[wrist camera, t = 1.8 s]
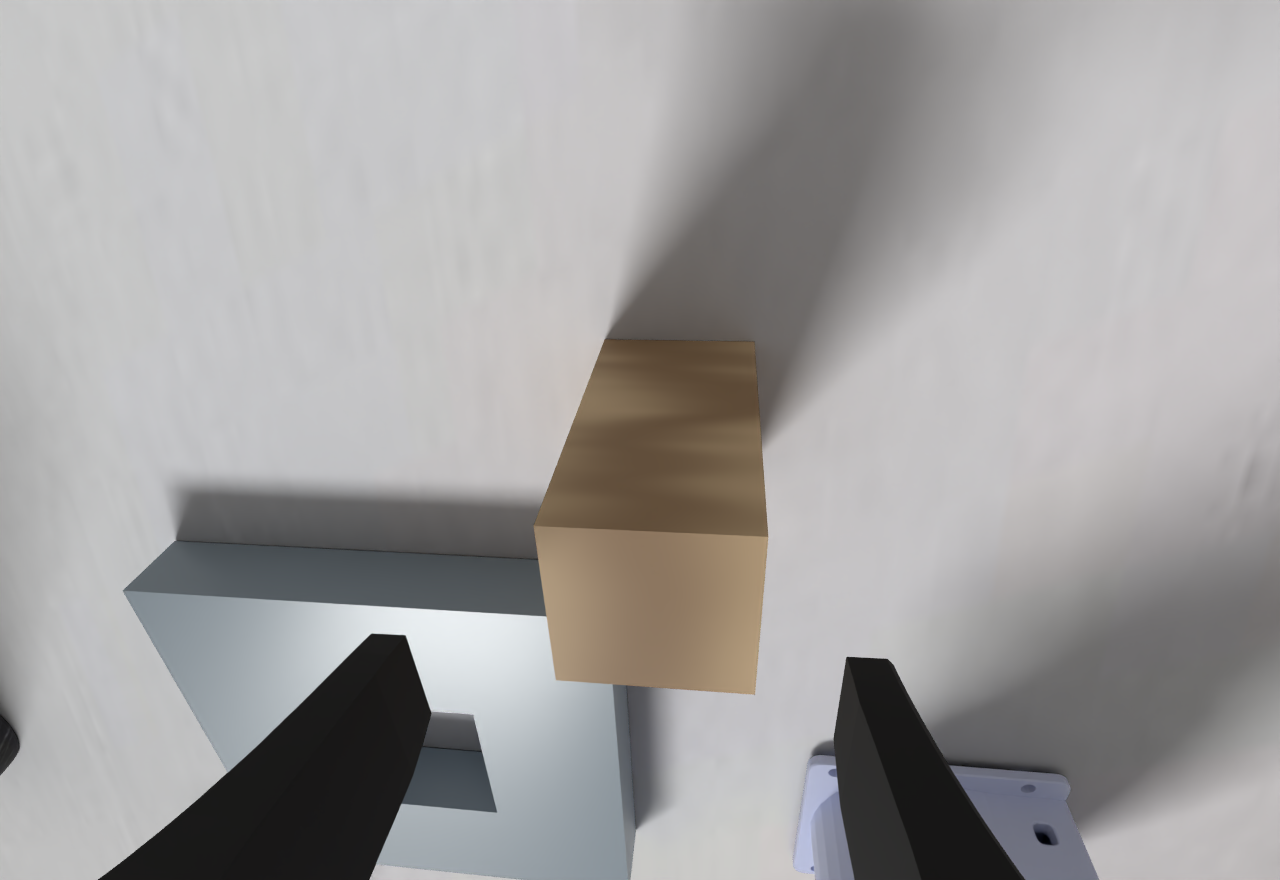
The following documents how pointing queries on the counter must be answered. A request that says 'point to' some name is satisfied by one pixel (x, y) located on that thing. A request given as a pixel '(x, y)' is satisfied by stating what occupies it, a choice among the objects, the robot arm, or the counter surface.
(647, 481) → the peg
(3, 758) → the travel mug
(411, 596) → the socket block
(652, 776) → the counter surface
